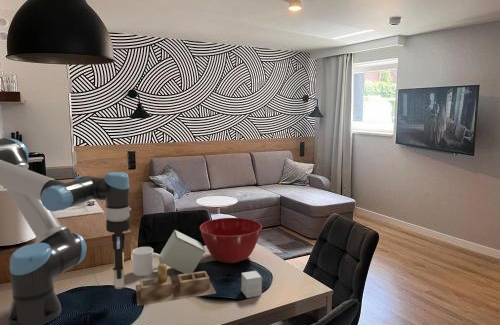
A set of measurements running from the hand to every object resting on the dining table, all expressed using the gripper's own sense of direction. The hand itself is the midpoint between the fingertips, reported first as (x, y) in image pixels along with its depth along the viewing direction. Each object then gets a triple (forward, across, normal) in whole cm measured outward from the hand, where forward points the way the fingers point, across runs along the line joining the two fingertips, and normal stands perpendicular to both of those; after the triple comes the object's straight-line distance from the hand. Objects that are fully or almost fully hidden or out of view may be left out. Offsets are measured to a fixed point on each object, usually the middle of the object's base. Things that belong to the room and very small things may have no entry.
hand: (119, 283), depth 128 cm
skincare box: (+7, -6, -47) cm, 48 cm away
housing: (+5, +21, -22) cm, 30 cm away
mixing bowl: (+8, +30, -49) cm, 57 cm away
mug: (+9, +24, -11) cm, 27 cm away
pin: (+1, 0, 0) cm, 1 cm away
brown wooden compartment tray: (+8, +4, -20) cm, 22 cm away
